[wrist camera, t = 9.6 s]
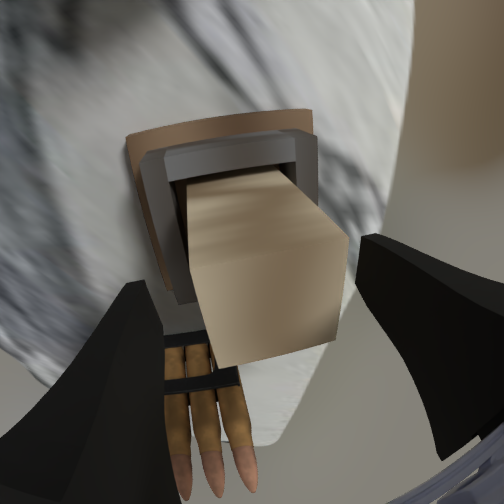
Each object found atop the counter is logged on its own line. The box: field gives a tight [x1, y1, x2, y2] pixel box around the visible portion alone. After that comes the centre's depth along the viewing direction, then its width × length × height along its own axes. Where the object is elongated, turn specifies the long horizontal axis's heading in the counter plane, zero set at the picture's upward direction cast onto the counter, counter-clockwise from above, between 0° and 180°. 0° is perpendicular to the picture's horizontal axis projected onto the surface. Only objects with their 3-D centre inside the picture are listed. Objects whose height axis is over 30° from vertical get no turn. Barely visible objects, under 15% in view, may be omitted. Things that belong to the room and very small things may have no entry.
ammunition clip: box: [164, 330, 258, 501], centre depth 15 cm, size 11×2×12 cm, turn 93°
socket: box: [125, 109, 318, 305], centre depth 14 cm, size 9×9×4 cm
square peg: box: [187, 164, 349, 369], centre depth 11 cm, size 4×4×8 cm
